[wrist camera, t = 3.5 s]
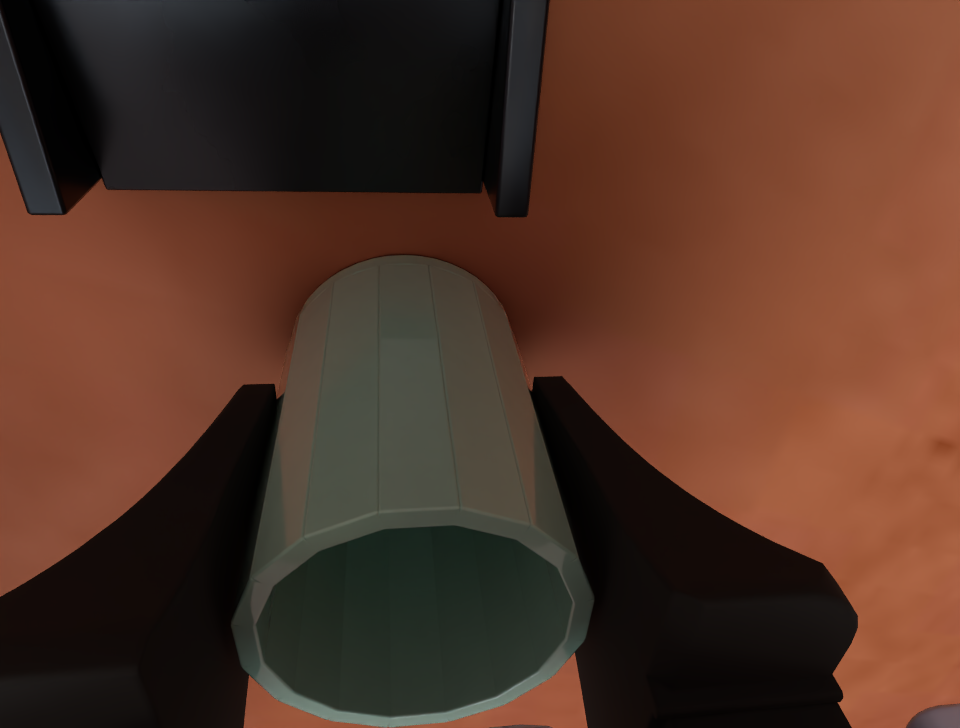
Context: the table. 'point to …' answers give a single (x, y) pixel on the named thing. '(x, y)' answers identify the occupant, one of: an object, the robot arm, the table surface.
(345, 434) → the cup
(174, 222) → the table surface
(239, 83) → the chute
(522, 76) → the chute rails
